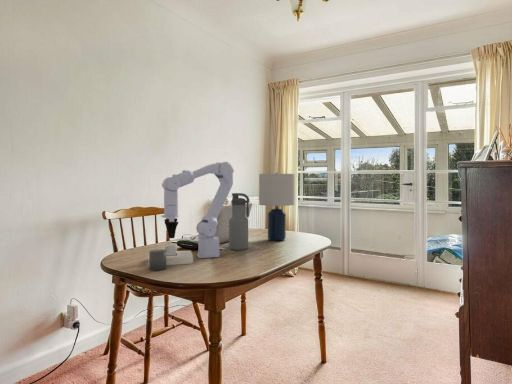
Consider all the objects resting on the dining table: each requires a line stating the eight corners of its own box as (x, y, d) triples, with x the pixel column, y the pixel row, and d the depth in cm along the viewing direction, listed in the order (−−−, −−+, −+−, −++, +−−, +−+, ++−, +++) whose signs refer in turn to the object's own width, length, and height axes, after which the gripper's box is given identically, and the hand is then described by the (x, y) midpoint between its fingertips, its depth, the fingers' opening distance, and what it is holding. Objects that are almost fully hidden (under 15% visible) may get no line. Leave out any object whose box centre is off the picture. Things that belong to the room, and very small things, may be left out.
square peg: (175, 260, 148) (175, 244, 148) (175, 262, 144) (175, 245, 143) (165, 260, 147) (165, 244, 146) (165, 263, 143) (165, 246, 142)
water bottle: (248, 246, 178) (248, 192, 177) (250, 250, 168) (250, 193, 167) (228, 246, 177) (228, 192, 175) (229, 250, 167) (229, 193, 166)
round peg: (166, 266, 137) (166, 249, 137) (166, 270, 131) (166, 252, 131) (149, 267, 136) (149, 250, 135) (148, 271, 129) (148, 253, 129)
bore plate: (190, 257, 153) (190, 250, 153) (193, 263, 142) (192, 256, 142) (149, 259, 149) (149, 252, 149) (147, 266, 137) (147, 258, 137)
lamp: (272, 244, 182) (273, 172, 181) (252, 239, 199) (252, 172, 198) (301, 240, 194) (302, 172, 192) (279, 235, 210) (280, 172, 209)
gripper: (161, 204, 152) (161, 234, 152) (161, 206, 138) (161, 240, 138) (177, 203, 154) (177, 233, 154) (179, 206, 140) (179, 239, 140)
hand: (171, 236), depth 147 cm, fingers open, 7 cm apart
